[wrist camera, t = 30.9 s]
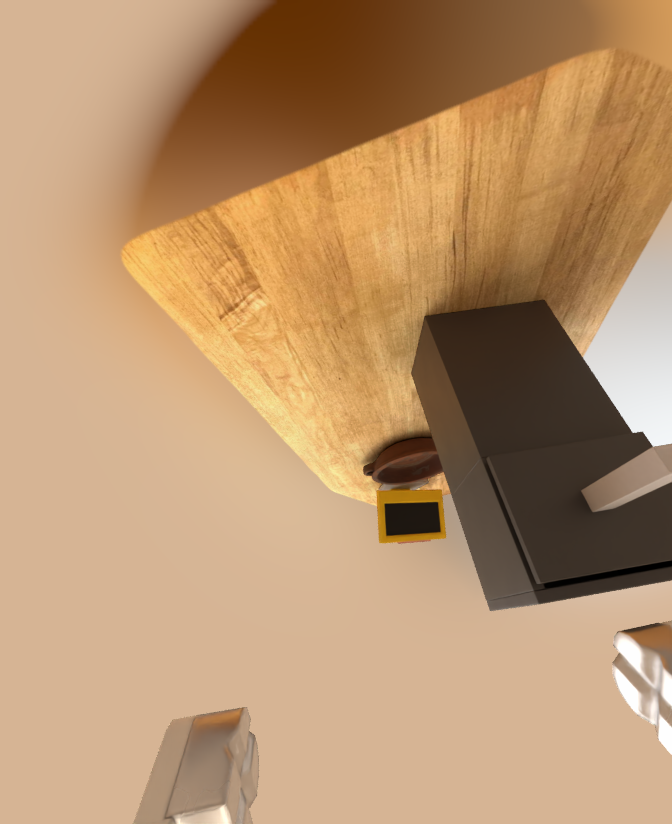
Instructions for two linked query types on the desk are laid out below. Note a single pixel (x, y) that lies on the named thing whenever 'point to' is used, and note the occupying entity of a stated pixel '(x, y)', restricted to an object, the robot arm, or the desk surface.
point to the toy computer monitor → (410, 513)
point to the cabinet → (511, 432)
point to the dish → (406, 463)
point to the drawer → (589, 504)
